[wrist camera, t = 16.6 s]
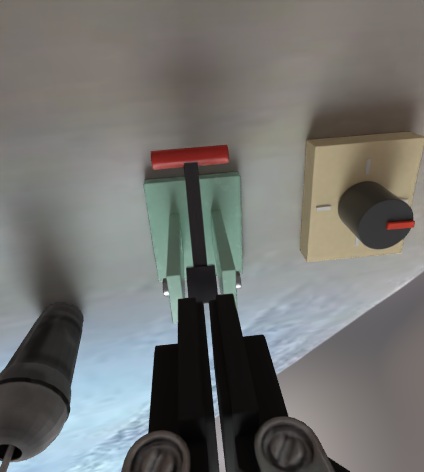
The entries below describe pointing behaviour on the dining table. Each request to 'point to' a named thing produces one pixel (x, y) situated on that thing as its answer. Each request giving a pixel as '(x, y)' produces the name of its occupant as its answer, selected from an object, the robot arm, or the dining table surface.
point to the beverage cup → (39, 384)
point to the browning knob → (375, 215)
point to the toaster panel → (346, 175)
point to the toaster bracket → (178, 231)
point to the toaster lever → (195, 211)
